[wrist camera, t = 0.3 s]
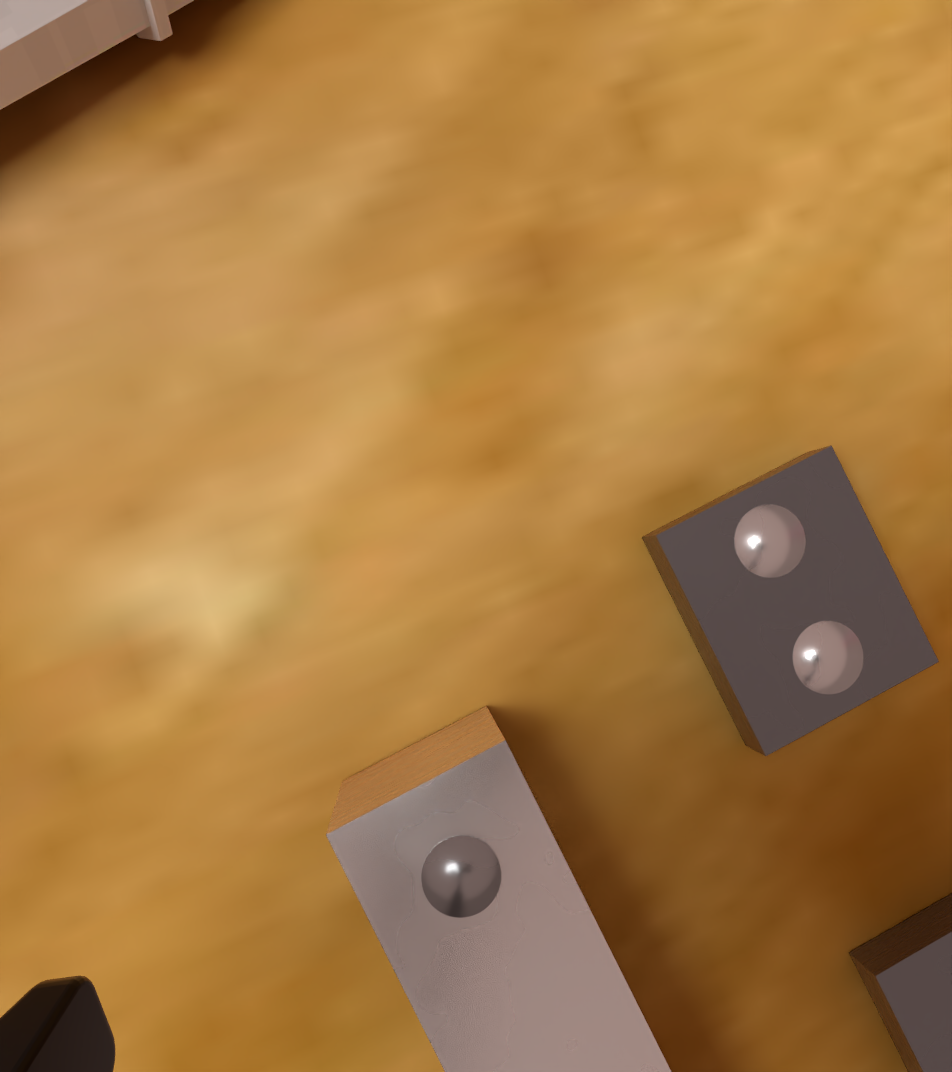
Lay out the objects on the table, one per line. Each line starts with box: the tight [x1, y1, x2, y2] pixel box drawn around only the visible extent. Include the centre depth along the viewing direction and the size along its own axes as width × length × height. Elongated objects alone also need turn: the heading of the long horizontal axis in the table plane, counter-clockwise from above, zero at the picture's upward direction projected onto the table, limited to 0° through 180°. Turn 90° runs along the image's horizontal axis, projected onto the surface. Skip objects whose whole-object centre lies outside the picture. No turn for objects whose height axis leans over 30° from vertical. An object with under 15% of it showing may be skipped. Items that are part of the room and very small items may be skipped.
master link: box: [326, 706, 671, 1072], centre depth 18 cm, size 14×4×4 cm, turn 27°
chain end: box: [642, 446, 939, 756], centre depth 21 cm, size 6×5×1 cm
